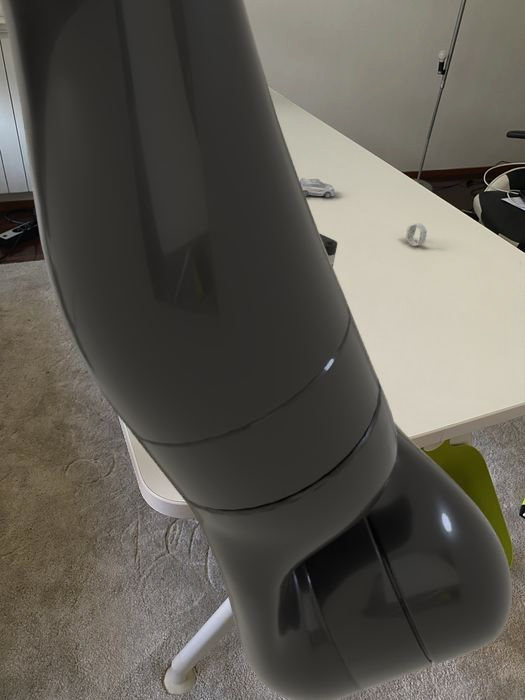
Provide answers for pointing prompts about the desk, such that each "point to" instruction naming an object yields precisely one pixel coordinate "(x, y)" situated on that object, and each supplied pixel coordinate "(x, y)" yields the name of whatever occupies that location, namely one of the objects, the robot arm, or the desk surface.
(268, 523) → the robot arm
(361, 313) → the desk surface
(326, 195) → the toy car
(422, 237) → the grey ring
